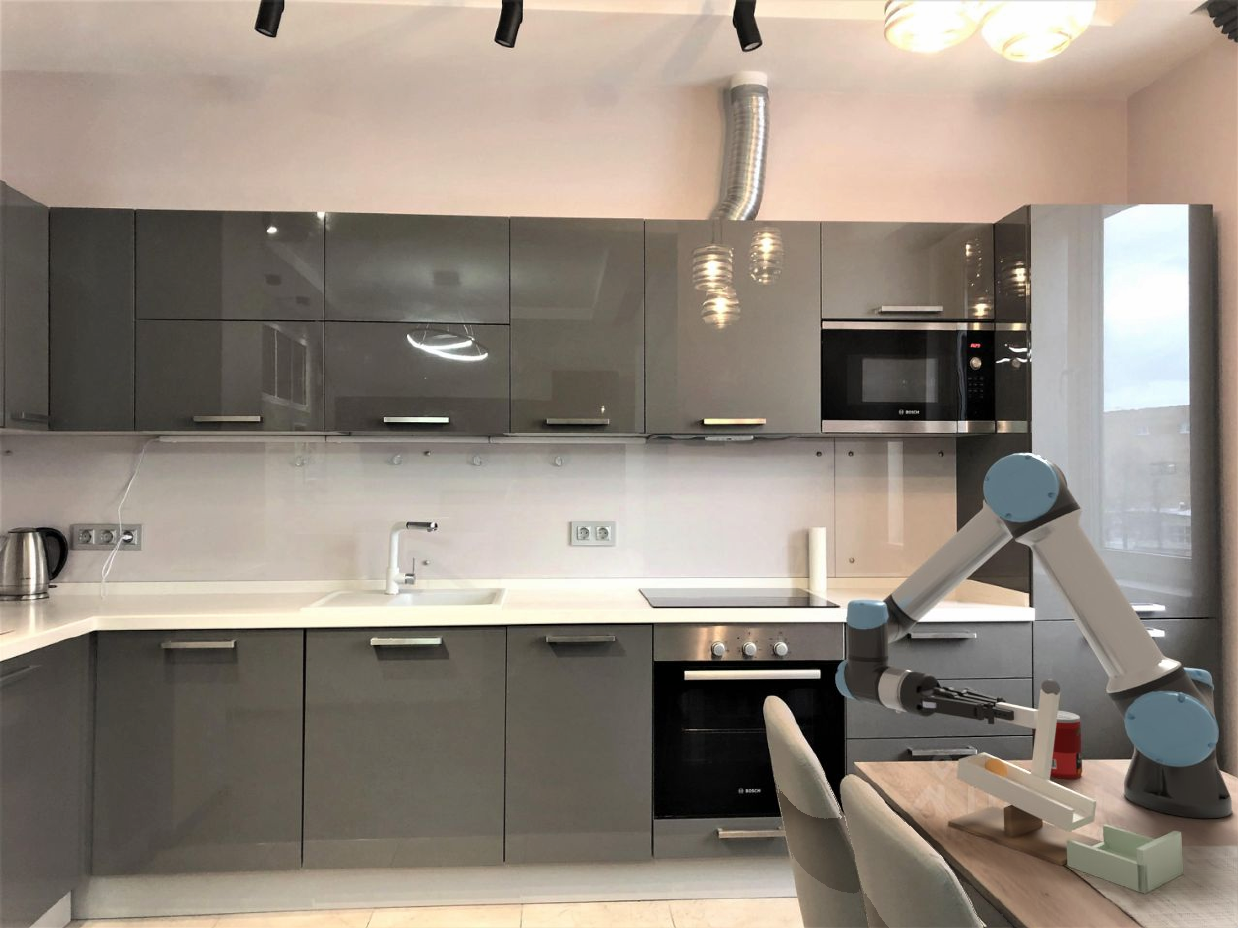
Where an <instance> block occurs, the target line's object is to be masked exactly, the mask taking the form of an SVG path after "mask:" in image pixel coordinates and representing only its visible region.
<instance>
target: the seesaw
mask: <svg viewBox="0 0 1238 928" xmlns="http://www.w3.org/2000/svg"><path fill="white" fill-rule="evenodd" d="M1060 697H1061V686H1060V684H1059V682H1058V681H1057V680H1055V679H1052V678H1048V679H1045V680H1043V681H1042V683H1041V689H1040V691H1039V700H1038V707H1037V708H1038V709H1037V710H1038V716H1037V724H1036V733H1035V741H1034V740H1033V752H1032V759H1031V769H1030V771H1029V770H1027V769H1024V768H1021V767H1019V766H1017V765H1015V764H1013V763H1011V762H1008V761H1006V760H1003V759H1001V758H999V757H997V756H994V755H991V754H989V753H987V752H985V751H984V752H980V753H975V754H973V755H968V756H966V757H962V758H958V763H957V772H956V779H957V780H960V781H961V782H963V783H965V784H967V785H969V786H971V787H974V788H976V789H978V790H979V791H982V792H984V793H986V794H987V795H990V796H993V798H996V799H999V800H1001V801H1003V802H1005V803H1007V804H1009V805H1013V806H1015V807H1017V808H1019V809H1021V810H1023V811H1025V812H1028V813H1030V814H1032V815H1034V816H1036V817H1038V818H1040V819H1042V820H1043V821H1044V822H1045V823H1046V822H1047V824H1050V825H1053V826H1056V827H1059V828H1061V829H1063V830H1065V831H1067V832H1070V831H1072V832H1074V831H1075V830H1077V829H1080V828H1082V827H1085V826H1086V825H1090V824H1092V823H1095V817H1096V808H1097V800H1096V799H1093V798H1091V797H1089V796H1087V795H1084V794H1082V793H1079V792H1077V791H1075V790H1072V789H1070V788H1068V787H1065V786H1063V785H1061V784H1058V783H1056V782H1054V781H1052V780H1051V777H1050V774H1051V766H1052V757H1053V749H1054V740H1055V732H1056V723H1057V715H1058V711H1059V703H1060ZM992 758H997V759H999V760H1001V761H1003V762H1004V764H1005V765H1006V767H1007V774H1006V776H1005V777H1002V776H999V775H997V774H995V773H993V772H990V771H988V770H986V769H985V764H986V762H987V761H988V760H989V759H992Z"/></svg>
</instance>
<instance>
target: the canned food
mask: <svg viewBox="0 0 1238 928" xmlns="http://www.w3.org/2000/svg"><path fill="white" fill-rule="evenodd" d="M1081 728H1082V727H1081V717H1080V715H1078V714H1076V713H1073V712H1069V711H1065V710H1058V715H1057V723H1056V732H1055V740H1054V749H1053V757H1052V766H1051V774H1050V778H1057V779H1063V780H1064V779H1065V780H1073V779H1074V780H1075V779H1078V778H1080V777H1081V776H1082V774H1083V757H1082V755H1083V754H1082V729H1081ZM1032 729H1033V742H1034V741H1035V733H1036V728H1035V729H1034V728H1032Z"/></svg>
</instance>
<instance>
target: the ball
mask: <svg viewBox="0 0 1238 928" xmlns="http://www.w3.org/2000/svg"><path fill="white" fill-rule="evenodd" d="M997 758H998V757H997ZM997 758H992V759H989V760H988V761H987V762H986V764H985V769H986V770H988V771H990V772H993V773H995V774H997V775H999V776H1002V777H1005V776H1006V774H1007V767H1006V765H1005V764H1004V762H1003V761H1001V760H1002V759H1001V760H999V759H1000V758H999V759H997Z"/></svg>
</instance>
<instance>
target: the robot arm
mask: <svg viewBox="0 0 1238 928" xmlns="http://www.w3.org/2000/svg"><path fill="white" fill-rule="evenodd" d="M982 486H983V488H982V489H983V495H984V499H983V501H982V505H983V507H982V509H981V510H980V511H978V513H976V514H975V515H974V516H973V517H972V518H971V519H970V520H969V521H968V522H967V523H966V524H965V525H963V527H961V528H960V529H959V530H958V531H957V532H956V533H955V534H953V535H952V536H951V537H950V539H949V540H947V541H946V542H945V543H944V544H943V545H942V546H940V548H938V549H937V550H936V551H935V552H933V554H932V555H931V556H930V557H929V558H928V559H927V560H925V562H923V563H922V564H921V565H920V566H919V567H918V568H917V569H916V570H915V571H914V572H913V573H912V574H910V575H909V576H908V577H907V578H906V579H905V580H904V581H903V582H902V583H901V584H900V585H899V586H898V587H896V588H895V589H894V590H893V591H892V592H891V593H890V594H889V595H888V596H886V597H885V599H883V600H878V599H853V600H850V601H849V602H848V604H847V606H846V607H847V608H846V609H847V610H846V612H847V613H846V618H845V620H846V621H845V622H846V627H847V631H846V632H847V659H845V660H842V662H840V663H839V665H838V666H837V671H836V673H835V685H836V687H837V690H838V691H839V693H840V694H841V695H842V696H844V697H846V698H849V699H852V700H855V701H857V702H859V703H867V704H870V705H875V706H878V707H884V708H888V709H891V710H892V709H893V710H895V713H897V714H901V713H902V712H903V713H909V714H912V715H915V716H920V717H924V718H928V717H931V716H933V715H934V714H935V713H936V714H942V715H947V716H948V715H949V716H955V717H957V718H958V717H960V718H965V719H970V720H977V721H985V719H986V720H987V724H988V725H994V724H995V720H996V721H999V722H1003V723H1009V724H1012V725H1017V726H1020V727H1025V728H1029V729H1033V728H1034V729H1035V728H1036V724H1037V716H1038V709H1036V708H1032V707H1028V706H1021V705H1017V704H1011V703H1007V702H1006V701H1007V700H1006V699H1005V698H1004V697H1002V696H999V697H997V696H993V695H990V694H987V693H983V692H979V691H975V690H973V689H971V688H969V687H964V688H963V689H956V688H954V687H953V686H948V685H943V686H942V685H940V682H939V680H938V679H937V677H935V676H934V675H932V674H930V673H926V672H921V671H913V670H910V669H906V668H905V669H903V668H899V667H894V666H889V644H890V643H893V642H896V641H900V640H901V639H903V638H904V637H905V636H906V635H908V633H909V632H910V630H911V629H912V628H913V627H914V626H915V625H916V624H917V623H919V621H920V620H921V619H923V617H925V616H926V615H927V614H928V613H929V612H931V610H932V609H934V608H935V607H936V606H937V605H939V603H941V601H943V600H944V599H945V598H947V597H948V596H949V595H950V594H951V593H953V591H954V590H955V589H956V588H958V587H959V586H960V585H961V584H962V583H963V582H964V581H966V579H968V578H970V576H971V575H972V574H974V572H975V571H977V570H978V569H979V568H980V567H981V566H982V565H984V564H985V563H986V562H987V561H988V560H989V559H990V558H992V557H993V555H995V554H996V553H997V552H998V551H1000V550H1001V548H1003V547H1004V546H1005V545H1006V544H1007V543H1009V541H1011V540H1012V539H1014V541H1015V542H1016V543H1020V544H1023V545H1026V546H1027V547H1029V548H1030V550H1031V551H1032V553H1033V555H1034V556H1035V558H1036V559H1037V561H1038V563H1039V564H1040V566H1041V567H1042V569H1043V571H1044V573H1045V574H1046V575H1047V577H1048V578H1049V580H1050V583H1051V584H1052V585H1053V587H1054V590H1056V592H1057V594H1058V596H1059V597H1060V599H1061V601H1062V602H1063V604H1064V605H1065V607H1066V608H1067V610H1068V612H1069V613H1070V615H1071V617H1072V619H1073V620H1074V622H1075V623H1076V624H1077V626H1078V629H1079V630H1080V631H1081V633H1082V635H1083V636H1084V638H1085V640H1086V641H1087V643H1088V645H1089V646H1090V648H1091V650H1092V651H1093V653H1094V654H1095V656H1096V658H1097V659H1098V661H1099V662H1100V664H1101V665H1102V668H1103V669H1104V670H1105V673H1106V674H1107V676H1108V682H1107V685H1106V689H1105V690H1106V693H1107V694H1108V696H1109V697H1110V698H1109V699H1111V702H1112V703H1113V705H1114V706H1115V708H1116V710H1117V711H1118V712H1119V714H1120V716H1121V718H1122V719H1123V720H1124V721H1123V722H1124V723H1123V724H1124V729H1125V731H1126V735H1127V737H1128V739H1129V740H1130V741H1131V743H1132V745H1133V754H1132V757H1131V760H1130V763H1129V766H1128V768H1127V772H1126V774H1125V777H1124V781H1123V790H1124V791H1123V792H1124V793H1123V794H1124V796H1125V798H1126V799H1127V800H1128V801H1130V802H1132V803H1134V804H1135V805H1138V806H1141V807H1142V808H1146V809H1148V810H1152V811H1155V812H1160V813H1162V814H1163V813H1164V814H1166V815H1167V814H1169V815H1173V816H1179V817H1184V818H1185V817H1186V818H1194V819H1195V818H1196V819H1220V818H1225V817H1228V816H1230V815H1231V814H1232V813H1233V808H1232V807H1233V805H1232V802H1233V801H1232V797H1231V794H1230V792H1229V789H1228V787H1227V785H1226V781H1225V779H1224V777H1223V774H1222V772H1221V770H1220V768H1219V765H1218V763H1217V762H1218V761H1217V749H1216V748H1217V747H1216V746H1217V743H1218V741H1219V736H1220V735H1219V732H1220V730H1219V725H1218V721H1217V719H1216V714H1215V704H1214V690H1215V685H1214V684H1213V678H1212V674H1211V673H1210V672H1209V671H1208V670H1205V669H1201V668H1192V667H1191V668H1190V667H1184V666H1183V665H1182V663H1181V662H1180V661H1177V660H1175V659H1172V658H1169V657H1167V656H1165V655H1164V654H1163V653H1162V651H1161V649H1160V648H1159V647H1158V645H1157V643H1156V642H1155V641H1154V639H1153V638H1152V636H1151V634H1150V633H1149V630H1148V629H1147V628H1146V626H1145V625H1144V623H1143V622H1142V619H1140V617H1139V615H1138V614H1137V612H1136V611H1135V609H1134V607H1133V606H1132V604H1131V603H1130V601H1129V600H1128V598H1127V597H1126V595H1125V594H1124V592H1123V590H1122V589H1121V587H1120V586H1119V583H1118V582H1117V581H1116V580H1115V577H1114V576H1113V575H1112V573H1111V571H1110V569H1108V567H1107V565H1106V563H1105V561H1103V559H1102V557H1101V556H1100V554H1099V553H1098V551H1097V550H1096V548H1095V547H1094V545H1093V544H1092V542H1091V540H1090V538H1089V537H1088V536H1087V534H1086V533H1085V531H1084V529H1083V528H1082V527H1081V524H1080V519H1081V516H1082V512H1083V510H1082V508H1081V507H1080V505H1079V503H1078V501H1077V500H1076V499H1075V497H1074V496H1073V494H1072V492H1071V491H1070V489H1069V488H1068V487H1069V486H1068V481H1067V477H1066V475H1065V474H1064V472H1063V471H1062V469H1061V468H1060V467H1059V466H1057V465H1056V463H1053V462H1052V461H1051V460H1049V459H1046V458H1044V457H1042V456H1041V455H1038V454H1035V453H1030V452H1018V453H1012V454H1010V455H1009V454H1008V455H1007V456H1004V457H1001V458H1000V459H999V460H997V461H996V462H995V463H993V465H992V466H990V468H989V470H988V471H987V473H986V475H985V477H984V481H983V485H982Z"/></svg>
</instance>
